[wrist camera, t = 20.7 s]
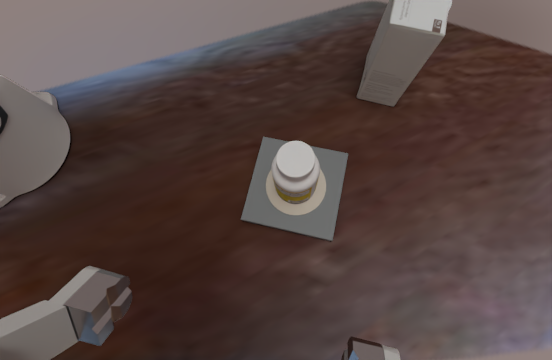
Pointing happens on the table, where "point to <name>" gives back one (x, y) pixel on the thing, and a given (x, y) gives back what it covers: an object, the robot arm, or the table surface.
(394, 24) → the skincare box
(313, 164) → the supplement bottle
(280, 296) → the table surface
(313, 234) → the board
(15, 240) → the table surface
